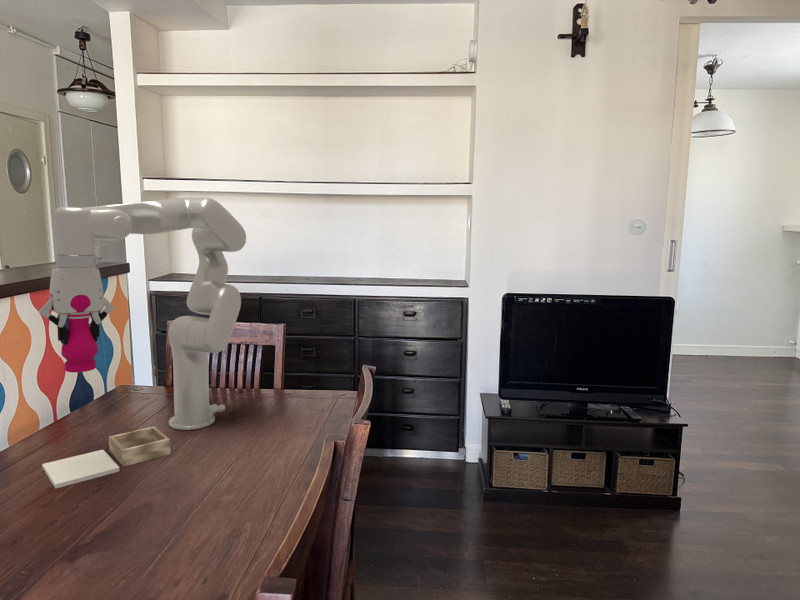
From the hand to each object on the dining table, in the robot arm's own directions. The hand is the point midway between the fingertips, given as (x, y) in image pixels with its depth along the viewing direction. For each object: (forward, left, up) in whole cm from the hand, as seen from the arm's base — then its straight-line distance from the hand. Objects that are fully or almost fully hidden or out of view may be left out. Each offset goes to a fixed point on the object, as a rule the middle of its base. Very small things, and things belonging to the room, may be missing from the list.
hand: (79, 341), depth 123 cm
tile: (+1, 0, -31) cm, 31 cm away
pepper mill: (0, 0, -7) cm, 7 cm away
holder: (-12, -1, -31) cm, 33 cm away
